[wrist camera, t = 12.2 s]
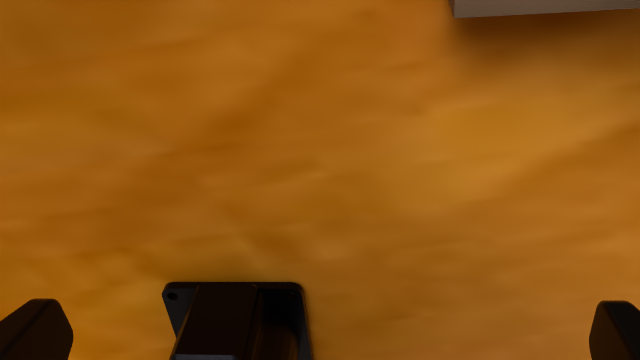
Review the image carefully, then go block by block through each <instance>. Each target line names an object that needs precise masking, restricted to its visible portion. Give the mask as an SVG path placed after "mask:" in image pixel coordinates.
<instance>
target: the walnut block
mask: <svg viewBox="0 0 640 360" xmlns="http://www.w3.org/2000/svg"><path fill="white" fill-rule="evenodd" d="M449 3H450V6H451V10H452V13H453V16H454V18H468V17H486V16H505V15H524V14H543V13H561V12H580V11H599V10H618V9H636V8H640V0H449Z"/></svg>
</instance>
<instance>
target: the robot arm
mask: <svg viewBox="0 0 640 360" xmlns="http://www.w3.org/2000/svg"><path fill="white" fill-rule="evenodd" d="M174 293H175V294H174ZM290 293H294V294H290ZM162 297H163V300H164V303H165V306H166V309H167V312H168V315H169V318H170V321H171V324H172V327H173V330H174V333H175V335H176V338H177V339H176V342H175V344H174V347H173V350H172V353H171V355H170V358H169V360H313V353H312V346H311V340H310V333H309V326H308V319H307V313H306V306H305V299H304V292H303V289H302V287H301V286H300V285H299V284H297V283H293V282H171V283H168V284H166V286H165V287H164V290H163V292H162ZM72 343H73V330H72V328H71V325H70V323H69V321H68V319H67V317H66V315H65V313H64V311H63V309H62V307H61V305H60V303H59V302H58V301H57V300H55V299H32V300H30V301H28V302H27V303H25V304H24V305H22V306H21V307H20V308H18V309H17V310H15V311H14V312H13V313H11V314H10V315H8V316H7V317H6V318H4V319H3V320H1V321H0V360H68V357H69V353H70V350H71V347H72ZM589 347H590V353H591V358H592V360H640V310H638V309H637V308H636V307H635V306H634V305H633V304H631V303H629V302H628V301H601V302H599V304H598V305H597V308H596V312H595V316H594V320H593V324H592V328H591V332H590V336H589Z"/></svg>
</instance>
